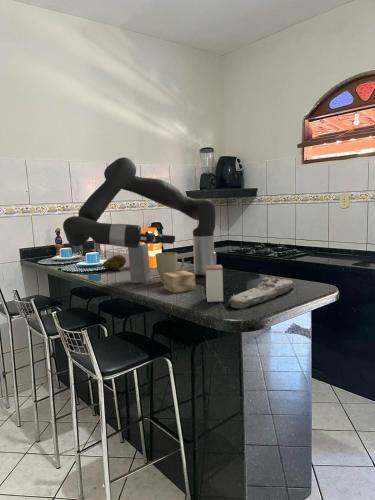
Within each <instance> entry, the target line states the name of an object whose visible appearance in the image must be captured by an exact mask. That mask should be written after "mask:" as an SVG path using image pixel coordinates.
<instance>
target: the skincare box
mask: <svg viewBox="0 0 375 500" xmlns="http://www.w3.org/2000/svg"><path fill="white" fill-rule="evenodd" d="M127 252H128V264H129V273H130V281H131V282H130V283H131V284H146V283H148V282H149V281H151V279H152V276H151V268H150V264H149V252H148V244H140V246H139V247H138V248H131V247H127Z"/></svg>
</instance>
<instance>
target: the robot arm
mask: <svg viewBox="0 0 375 500" xmlns="http://www.w3.org/2000/svg"><path fill="white" fill-rule="evenodd" d="M136 174H137V167H136V165H135V162H134V161H133V160H132V159H130V158H128V157H124V156H123V157H119V158H117V159H116V160H114V161H113V162H111V163H110V164H109V165H107V167H106V168H105V170H104V171H103V175H104V179H105V180H104V181H103V183H102V184H100V186H98V188H97V189H95V190H94V192H92V194H90V196H89V197H88V198H87V199H86V201H85V202H84V203H83V204H82V205H81V206H80V208H79V210H78V213H77V215H78V216H77V215H73V216H70V217H68V218H67V217H66V219H65V220H64V221H63V224H62V228H63V231H64V234H65V237H66V241H67V242H68V244H69V245H71V246H73V247H80V246H83V245H84V244H86V243H87V241H89V239H92V241H93V242H94V243H95V244H98V245H104V246H105V245H106V246H107V245H108V246H114V247H121V248H128V247H131V248H138V247H139V246H140V242H142V243H143V242H145V244H160V243H161V244H167V245H169V244H170V245H172V244H173V245H174V243H175V242H176V236H175V235H168V234H164V233H159V232H158V233H154V232H149V231H146V232H145V233H141V232H142V227H141V225H139V224H138V225H137V224H127V223H107V222H100V221H99V222H98V220H99V219H100V218H101V217H102V215H103V213H104V212H105V211H106V210H107V208H108V207H109V205H110V204H111V203H112V201H113V200H114V199H115V197H116V196H117V195H118V194H119V192H120V191H121V190H123V191H126V192H130V193H133V194H136V195H138V196H141V197H143V198H146V199H149V200H150V201H152V202H155V203H157V204H159V205H162V206H165V207H167V208H169V209H173V210H174V211H175V210H176V211H178V212H181V213H182V214H184V215H186V216H187V217H189V218H191V219H192V220H196V221H198V225H197V227H196V228H194V229H193V230H192V239H193V241H192V243H193V244H192V245H193V247H192V249H193V271H194V273H193V274H195V276H206V268H205V265H217V252H215V241H214V239H215V237H214V235H215V234H214V232H215V228H216V207H215V204H214V203H215V202H213V201H212V200H211V199H205V198H204V199H203V198H202V199H195V198H193V197H189V196H186V195H184V194H183V193H182V191H180V189H179V188H178V187H176V186H175V185H174V184H172V183H170V182H168V181H165V180H162V179H159V178H151V177H140V176H137V175H136Z"/></svg>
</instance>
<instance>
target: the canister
mask: <svg viewBox="0 0 375 500" xmlns="http://www.w3.org/2000/svg"><path fill="white" fill-rule="evenodd" d="M205 268H206V275H205V284H206V285H205V290H206V293H205V294H206V301H207V302H208V303H209V302H210V303H211V302H212V303H213V302H224V280H223V278H224V277H223V274H224V273H223V270H224V268H223V266H222V264H216V265H205Z"/></svg>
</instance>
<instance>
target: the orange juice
mask: <svg viewBox="0 0 375 500" xmlns="http://www.w3.org/2000/svg"><path fill="white" fill-rule="evenodd" d="M146 231H149V232H154V233H159V231H158V230H157V227H142V228H141V233H145V232H146ZM140 244H145V242H143V243H142V242H140ZM148 252H149V264H150V269H155V268H157V265H156V256H155V254H157V253H163V252H162V242H161V243H160V244H148Z"/></svg>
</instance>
